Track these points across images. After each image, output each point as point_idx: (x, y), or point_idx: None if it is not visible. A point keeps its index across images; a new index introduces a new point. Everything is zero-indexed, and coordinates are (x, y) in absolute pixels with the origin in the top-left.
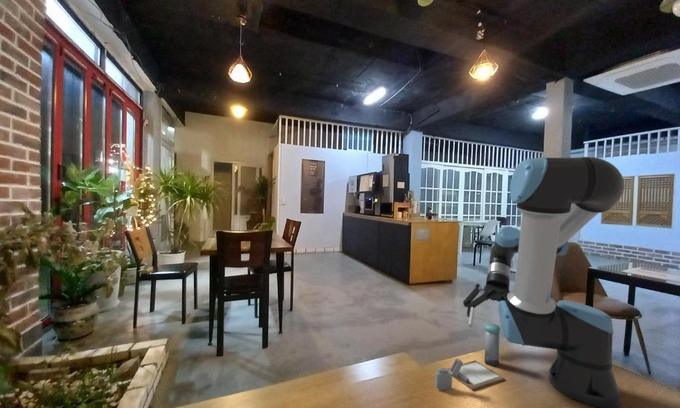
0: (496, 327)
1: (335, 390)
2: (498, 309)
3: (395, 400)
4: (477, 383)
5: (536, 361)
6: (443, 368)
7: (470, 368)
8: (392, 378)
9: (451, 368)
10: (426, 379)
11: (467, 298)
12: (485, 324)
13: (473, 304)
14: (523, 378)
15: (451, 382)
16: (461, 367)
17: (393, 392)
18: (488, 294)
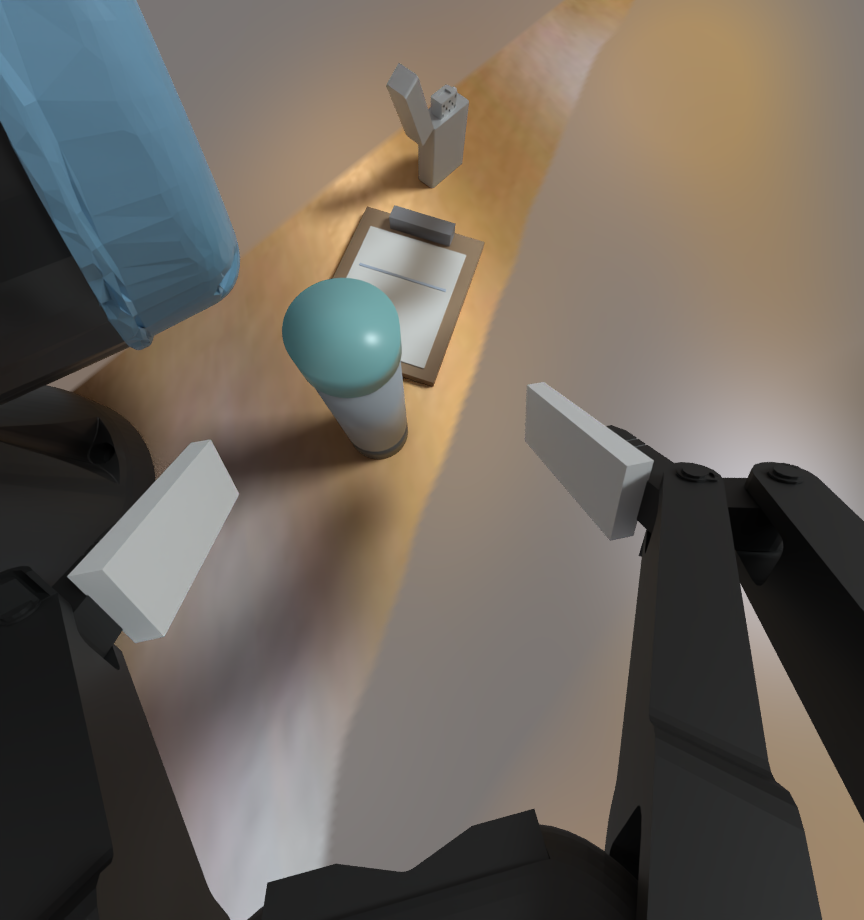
0: (307, 325)
1: (618, 6)
2: (154, 42)
3: (499, 60)
4: (365, 238)
5: (214, 631)
6: (447, 96)
7: (420, 306)
8: (567, 116)
9: (428, 119)
10: (498, 172)
11: (845, 528)
12: (396, 319)
13: (662, 494)
14: (248, 410)
15: (418, 149)
16: (447, 288)
17: (522, 77)
18: (639, 885)
